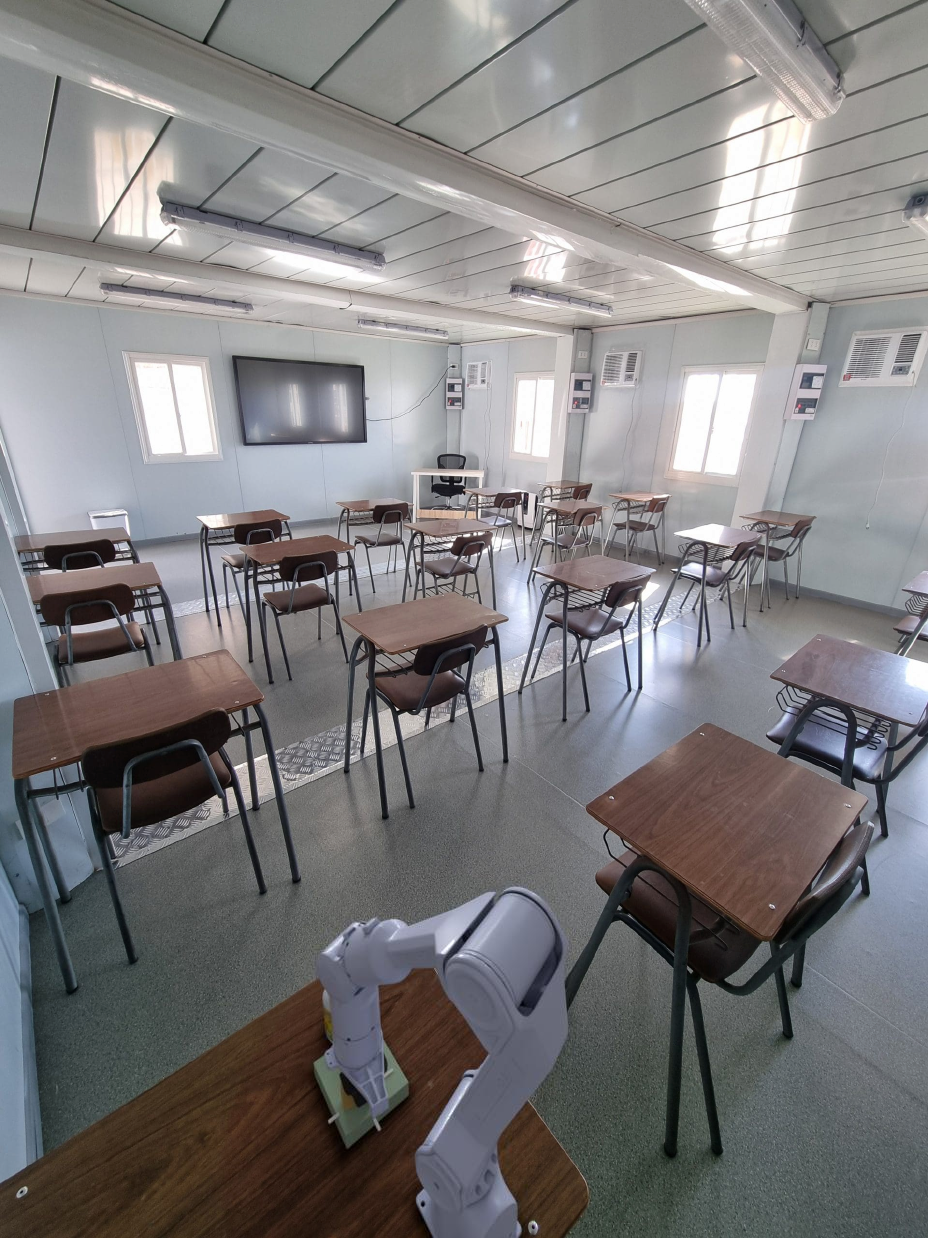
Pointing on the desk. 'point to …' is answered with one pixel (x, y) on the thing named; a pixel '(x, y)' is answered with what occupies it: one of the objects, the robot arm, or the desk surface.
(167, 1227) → the desk surface
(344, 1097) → the block
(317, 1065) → the lock plate
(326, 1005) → the supplement bottle
